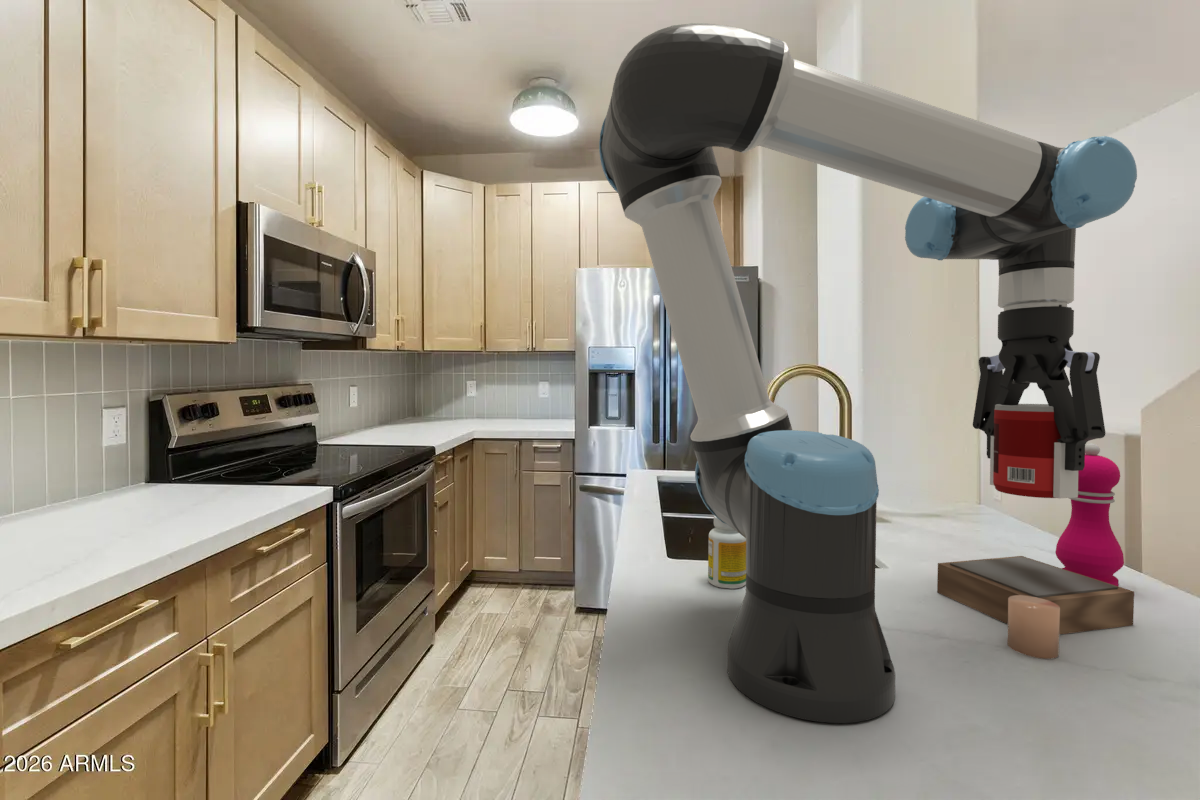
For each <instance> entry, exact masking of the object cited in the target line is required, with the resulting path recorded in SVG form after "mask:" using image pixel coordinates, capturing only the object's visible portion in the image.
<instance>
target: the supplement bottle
mask: <svg viewBox="0 0 1200 800" xmlns="http://www.w3.org/2000/svg"><path fill="white" fill-rule="evenodd" d="M713 526H714V528H712V529H711V530H710V531H709V533H708V546H707V547H708V548H707V549H708V552H707V553H708V559H707V560H708V561H707V564H708V566H707V576H708V579H707V580H708V582H709V583H710V584H711V585H712V586H714V587H717V588H719V589H720V588H722V589H731V590H732V589H741V588H743V587H744V586H746V538H745V537H744V536H742V535H741V534H740V533H738V532H737V531H736V530H734V529H733V528H732V527H730V526H729V525H727V524H725V523H723V522H722V521H720V520H719V519H718V518H717V517H716V516H714V515H713Z"/></svg>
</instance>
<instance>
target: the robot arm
mask: <svg viewBox="0 0 1200 800" xmlns="http://www.w3.org/2000/svg"><path fill="white" fill-rule="evenodd" d="M610 97H611V98H610V101H609V105H608V108H607V112H606V116H605V118H604V120H603V121H602V126H601V128H600V129H601V130H600V133H599V142H598V145H599V146H598V148H599V150H598V151H599V158H600V165H601V168H602V172H603V174H604V177H605V178H606V181H608V183H609V185H610V187H611V188H612V189H613V190H615V192H616V193H617V194H618V196H619V202H620V204H621V207H622V210H623V215H624V217H625V218H627V220H630V221H632V223H635V224H638V225H639V226H640V227H641V228H642V232H643V233H642V234H643V235H644V239H645V242H646V245H647V246H646V247H647V250H648V253H649V255H650V260H651V264H652V266H653V269H654V272H655V276H656V279H657V283H658V287H659V290H660V294H661V297H662V301H663V305H664V307H665V310H666V311H665V312H666V313H667V317H668V320H669V323H670V324H669V325H670V327H671V331H672V334H673V337H674V338H673V339H674V340H675V344H676V348H677V351H678V354H679V358H680V361H681V365H682V368H683V371H684V375H685V378H686V382H687V385H688V388H689V392H690V394H691V400H692V401H693V402H692V403H693V405H694V409H695V412H696V415H697V422H696V424H695V426H694V428H693V429H692V432H691V433H690V436H689V437H690V440H691V444H692V447H693V452H694V455H695V457H696V463H695V468H694V470H695V471H694V479H695V486H696V488H697V491H698V494H699V496H700V498H701V500H702V502H703V504H704V505H705V507H706V508H707V510H708V511H710V513H711V514H712V515H713V517H714V516H716V517H717V518H718V519H719V520H720V521H722V522H723V523H725V524H727V525H729V526H730V527H732V528H733V529H734V530H736V531H737V532H738V533H740V534H741V535H742V536H744V537H745V538H746V584H745V594H744V596H743V600H742V603H741V606H740V609H739V611H738V615H737V617H736V620H735V623H734V627H733V630H732V633H731V636H730V638H729V640H728V644H727V652H726V653H727V654H726V655H727V656H726V657H727V660H726V662H727V666H726V667H727V674H728V675H727V676H729V679H730V681H731V682H732V684H733V685H734V686H735V687H736V688H737V690H739V691H740V692H741V693H743V694H744V696H746V697H747V698H749V699H750V700H752V701H754V702H756V703H757V704H760V706H763V707H765V708H768V709H770V710H772V711H774V712H778V713H780V714H783V715H786V716H789V717H793V718H798V719H800V720H801V719H802V720H807V721H813V722H820V723H830V724H832V723H833V724H845V723H846V724H848V723H858V722H864V721H867V720H871V719H874V718H878V717H879V716H882V715H883V714H885V713H886V712H888V711H889V710H890V709H891V708H892V707H893V704H894V703H895V699H896V671H895V667H894V664H893V661H892V659H891V655H890V651H889V648H888V645H887V641H886V638H885V636H884V633H883V630H882V629H883V628H882V627H881V624H880V621H879V618H878V615H877V614H878V613H877V612H876V602H875V601H876V557H877V556H876V552H877V551H876V549H877V539H876V538H877V508H878V507H877V506H878V505H877V500H878V498H879V495H880V494H879V491H880V488H879V484H878V478H877V477H878V475H877V468H876V460H875V457H874V455H873V453H872V452H871V451H870V449H869V448H868V447H867V446H865V445H864V444H862V443H860V442H858V441H856V440H853V439H850V438H848V437H844V436H841V435H836V434H826V433H822V432H819V431H811V430H793V427H792V424H791V420H790V417H789V415H788V410H787V409H785V408H783V407H781V406H780V405H778V404H776V403H774V402H773V401H772V400H771V399H770V396H769V394H768V390H767V386H766V383H765V379H764V376H763V375H764V374H763V372H762V369H761V365H760V362H759V358H758V355H757V352H756V351H757V350H756V347H755V344H754V341H753V337H752V333H751V330H750V326H749V322H748V320H747V315H746V311H745V309H744V305H743V303H742V302H743V301H742V299H741V295H740V292H739V291H740V290H739V288H738V285H737V281H736V278H735V273H734V270H733V268H732V264H731V260H730V257H729V253H728V249H727V246H726V242H725V239H724V235H723V232H722V229H721V228H722V227H721V225H720V222H719V218H718V215H717V211H716V207H715V204H714V200H715V197H716V195H717V193H718V191H719V190H720V188H721V185H722V178H721V173H720V170H719V166H718V163H717V159H716V156H715V153H714V148H713V147H720V148H724V149H729V150H732V151H734V152H739V153H742V154H745V153H747V152H749V151H751V150H753V149H755V148H756V147H761V148H762V147H763V148H765V149H767V150H771V151H774V152H779V153H781V154H785V155H788V156H791V157H794V158H797V159H801V160H804V161H808V162H810V163H814V164H817V165H820V166H823V167H827V168H830V169H833V170H837V171H839V172H842V173H846V174H850V175H853V176H856V177H859V178H862V179H866V180H869V181H873V182H875V183H879V184H882V185H885V186H889V187H890V188H891V187H892V188H894V189H898V190H901V191H904V192H907V193H911V194H914V195H918V196H921V198H920V199H919V200H917V201H916V202H915V204H913V206H912V207H911V209H910V212H908V216H907V219H906V222H905V224H904V225H905V227H904V229H905V234H904V235H905V236H904V240H905V244H906V247H907V248H908V250H909V251H910V253H911V254H912V255H914V256H915V257H918V258H921V259H923V258H924V259H931V260H937V261H943V260H992V261H993V260H994V261H997V260H998V290H997V291H998V295H997V306H998V307H999V308H1000V309H1003V311H1000V312H999V314H998V315H997V339H998V340H1000V341H1001V349H1000V350H999V353H998V354H996V355H992V356H981V357H979V358H978V366H979V374H980V375H979V381H978V389H977V392H976V399H975V400H976V401H975V405H974V406H975V407H974V413H973V420H972V427H973V429H976V430H980V431H983V432H984V434H985V435H986V456H987V457H986V458H987V459H989V464H990V465H989V485H991V486H994V483H993V464H994V409H995V405H996V404H1001V405H1018V404H1020V401H1021V399H1022V396H1023V394H1024V391H1025V390H1027V389H1028V388H1029V387H1030V386H1031V385H1030V384H1036V385H1037V387H1038V389H1039V390H1041V391H1042V392H1043V394H1044V397H1045V399H1046V402H1047V404H1048V405H1049V406H1052V407H1054V409H1053V410H1054V420H1055V423H1056V425H1057V428H1058V431H1059V433H1060V436H1061V438H1060V439H1057V441H1058V442H1055V443H1054V486H1053V497H1055V498H1054V499H1069V498H1075V497H1078V471H1080V470H1083V469H1084V467H1085V462H1084V461H1085V445H1086V444H1088V442H1089V441H1092V440H1097V439H1103V438H1105V436H1106V428H1105V427H1106V426H1105V422H1104V421H1105V420H1104V414H1103V408H1102V401H1101V394H1100V385H1099V380H1098V374H1097V372H1098V368H1099V363H1100V360H1101V357H1100V356H1101V355H1100V353H1098V352H1094V351H1088V352H1087V351H1085V352H1083V351H1075V350H1074V349H1073V348H1072V347H1071V344H1070V339H1071V338H1072V336H1073V335H1074V329H1075V328H1074V327H1075V326H1074V323H1075V322H1074V320H1075V318H1074V317H1075V309H1073V307H1072V306H1071V307H1069V306H1068V305H1069V304H1072V302H1074V301H1075V264H1076V263H1075V260H1076V259H1075V258H1076V257H1075V255H1076V253H1075V252H1076V237H1077V236H1076V235H1077V234H1076V233H1077V229H1078V228H1079V229H1080V228H1082V227H1084V226H1085V225H1087V224H1089V223H1092V222H1095V221H1098V220H1100V219H1103V218H1107V217H1109V216H1111V215H1113V214H1115V213H1117V212H1118V211H1120V210H1121V209H1122V208H1123V207H1125V205H1126V204H1127V203H1128V202H1129V200H1130V199H1131V197H1132V195H1133V193H1134V189H1135V187H1136V181H1137V178H1138V169H1137V164H1136V160H1135V158H1134V155H1133V154H1132V152H1131V150H1130V149H1129V147H1127V146H1126V145H1125V144H1124V143H1123V142H1121V141H1120V140H1118V139H1117V138H1114V137H1112V136H1111V137H1110V136H1108V135H1102V136H1092V137H1089V138H1085V139H1083V140H1077V141H1073V142H1070V143H1068V144H1067V146H1065V147H1059V146H1055V145H1052V144H1049V143H1046V142H1042V141H1038V140H1036V139H1033V138H1030V137H1027V136H1025V135H1021V134H1020V133H1019V134H1018V133H1016V132H1012V131H1009V130H1007V129H1004V128H1000V127H998V126H994V125H992V124H989V123H985V122H982V121H980V120H976V119H974V118H970V117H967V116H964V115H962V114H959V113H955V112H952V111H949V110H948V109H947V110H946V109H944V108H941V107H938V106H935V105H931V104H930V103H926V102H924V101H920V100H917V99H915V98H912V97H908V96H905V95H903V94H900V93H896V92H893V91H891V90H887V89H885V88H881V87H879V86H876V85H873V84H869V83H866V82H864V81H860V80H857V79H854V78H851V77H849V76H846V75H843V74H840V73H837V72H834V71H831V70H828V69H826V68H825V69H824V68H823V67H819V66H816V65H813V64H810V63H807V62H804V61H801V60H798V59H796V58H793V57H792V54H791V52H790V49H789V46H788V43H787V42H786V41H783V40H781V39H779V38H775V37H772V36H769V35H765V34H762V33H759V32H757V31H756V32H755V31H753V30H750V29H747V28H741V27H736V26H731V25H727V24H726V25H725V24H724V25H723V24H716V23H704V22H703V23H699V22H697V23H693V22H691V23H683V24H682V23H681V24H675V25H671V26H667V27H664V28H660V29H657V30H656V31H654V32H652V33H649V34H648V35H646V36H645V37H642V39H641V40H640V41H638V42H637V43H636V44H634V46H633V47H632V48H631V50H629V51H628V52H627V55H626V56H624V58H623V60H622V62H621V63H620V66H619V68H618V70H617V72H616V75H615V78H614V82H613V86H612V92H611V96H610ZM1066 367H1067V368H1069V374H1068V375H1069V377H1068V375H1067V372H1066V370H1065V368H1066ZM1003 370H1004V371H1003ZM1069 386H1070V388H1069Z"/></svg>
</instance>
